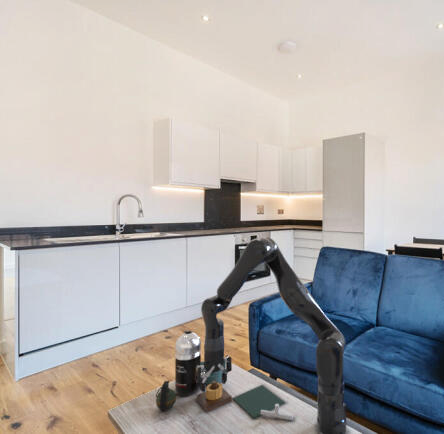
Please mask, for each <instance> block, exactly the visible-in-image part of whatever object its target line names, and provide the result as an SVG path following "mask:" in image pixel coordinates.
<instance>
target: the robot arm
mask: <svg viewBox="0 0 444 434" xmlns="http://www.w3.org/2000/svg"><path fill="white" fill-rule="evenodd" d="M240 255H241V256H240V257H239V258H238V261H237V262H236V264H235V265H234V267H233V268H232V270H231V271H230V272H229V273H228V275H227V276H226V277H225V278H224V279H223V281H222V282H221V283H220V285H218V288H217V289H216V295H214V296H211V297H207V298H205V299H204V300H203V301H202V303H201V307H200V312H201V316H202V319H203V323H204V326H205V327H204V342H203V350H204V351H203V361H204V364H203V365H200V366H199V365H197V366H196V372H195V381H196V382H197V383H200V388H199V390H200V391H201V393H203V392H205V391H206V384H205V381H206V379H207V378H208V377H209V376H210V374H213V373H215V372H219V370H221V371H222V372H223V373H222V381H221V384H222V385H225V384H227V382H228V381H227V380H228V374H229V372H232V371H233V369H232V368H233V366H232V357H231V356H230V355H229V354H227V355H225V335H224V334H225V324H224V320H223V319H221V318H218V317H217V315H218V314H221V313H223V312H224V311H226V310H227V309H228V308H229V307H230V305H231V304H232V301H233V298H234V297H235V296H236V295H237V294H238V292H240V290H241V289H242V288H243V286H244V284H245V282H246V280H247V278H248V276H250V274H251V273H252V272H253V271H254V270H255V269H256V268H257V267H259V266H260V265H261V264H264V263H265V264H266V266H267V267H268V268H269V269H270V271H271V272H272V274H273V276H274V279H275V282H276V286H277V290H278V293H279V296H280V297H281V299H282V301H283V303H285V305H286V307H287V308H288V309H289V310H290V312H291V313H292V314H293V315H294V316H296V317H297V318H299V319H300V320H301V321H303V322H304V323H305V324H307V325H308V326H309V328H311V330H312V331H313V333H314V334H315V336H316V337H317V339H318V342H317V345H316V350H315V351H316V352H315V360H316V361H315V362H316V363H315V364H316V365H315V366H316V368H315V371H316V375H317V408H316V409H317V412H316V421H317V422H316V430H317V432H318V434H346V432H347V404H346V403H345V372H344V355H345V351H346V348H347V341H346V337H345V335H343V333H342V332H341V331H340V330H339V328H338V327H337V326H336V325H335V324H334V323H333V322H332V320H331V319H329V317H328V316H327V315H326V314H325V312H324V311H323V310H322V308H321V306H320V305H319V304H318V303H317V301H316V300H315V298H314V297H313V295H312V294H311V292H310V291H309V290H308V287H306V285H305V284H304V282H303V281H302V280H301V278H299V276H298V275H297V273H296V272H295V271H294V270H293V268H292V267H291V266H290V264H289V262H288V261H287V260H286V257H285V256H284V254H283V253H282V251H281V249H280V247H279V246H278V244H277V243H276V241H275V240H274V239H273V238H271V237H270V236H266V235H265V236H260V237H257V238H254V239H252V240H250V241H249V242H248V244H247V245H246V246H245V248H244V250H243V252H242V253H241V254H240ZM224 362H226V368H225V369H224V367H223V366H222V365H223V364H224ZM203 368H204V371H203V373H201V372H202V370H203ZM206 372H207V373H206Z"/></svg>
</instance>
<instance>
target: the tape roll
mask: <svg viewBox="0 0 444 434" xmlns="http://www.w3.org/2000/svg"><path fill="white" fill-rule="evenodd" d="M222 388H223V383H222V382H220V383H217V389H215V390H212V384H209V385H206V386H205V391H206V398H207V399H208V400H216V399H218V398H220V397H221V396H222Z"/></svg>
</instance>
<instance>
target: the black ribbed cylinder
mask: <svg viewBox="0 0 444 434" xmlns="http://www.w3.org/2000/svg"><path fill="white" fill-rule="evenodd" d="M174 359H175V361H174V363H175V364H174V365H175V366H174V367H175V368H174V369H175V370H174V374H175V375H174V376H175V377H174V391H175V393H176V395H179V396H181V397H182V396H183V397H185V396H190V395H193V394H196V393H197V392H198V391H199V390H200V383H197V382H196V381H195V372H196V366H197V365H199V366H200V365H201V362H202V340H201V338H200V337H199V335H198V334H196V333H195V332H193V331H191V330H186V331H185V332H184V333H183V334H182V335H180V336H179V337H178V339H177V340H176V342H175V346H174Z"/></svg>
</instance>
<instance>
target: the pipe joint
mask: <svg viewBox="0 0 444 434" xmlns="http://www.w3.org/2000/svg"><path fill="white" fill-rule="evenodd" d="M260 414H261V416H266V417H271V418H277V419H283V420H287V421H293V420H294V419H293V418H294V415H292V414H288V413H282V412H280V406H279V404H275V408H274V411H272V410H271V411H266V410H261V412H260Z"/></svg>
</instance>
